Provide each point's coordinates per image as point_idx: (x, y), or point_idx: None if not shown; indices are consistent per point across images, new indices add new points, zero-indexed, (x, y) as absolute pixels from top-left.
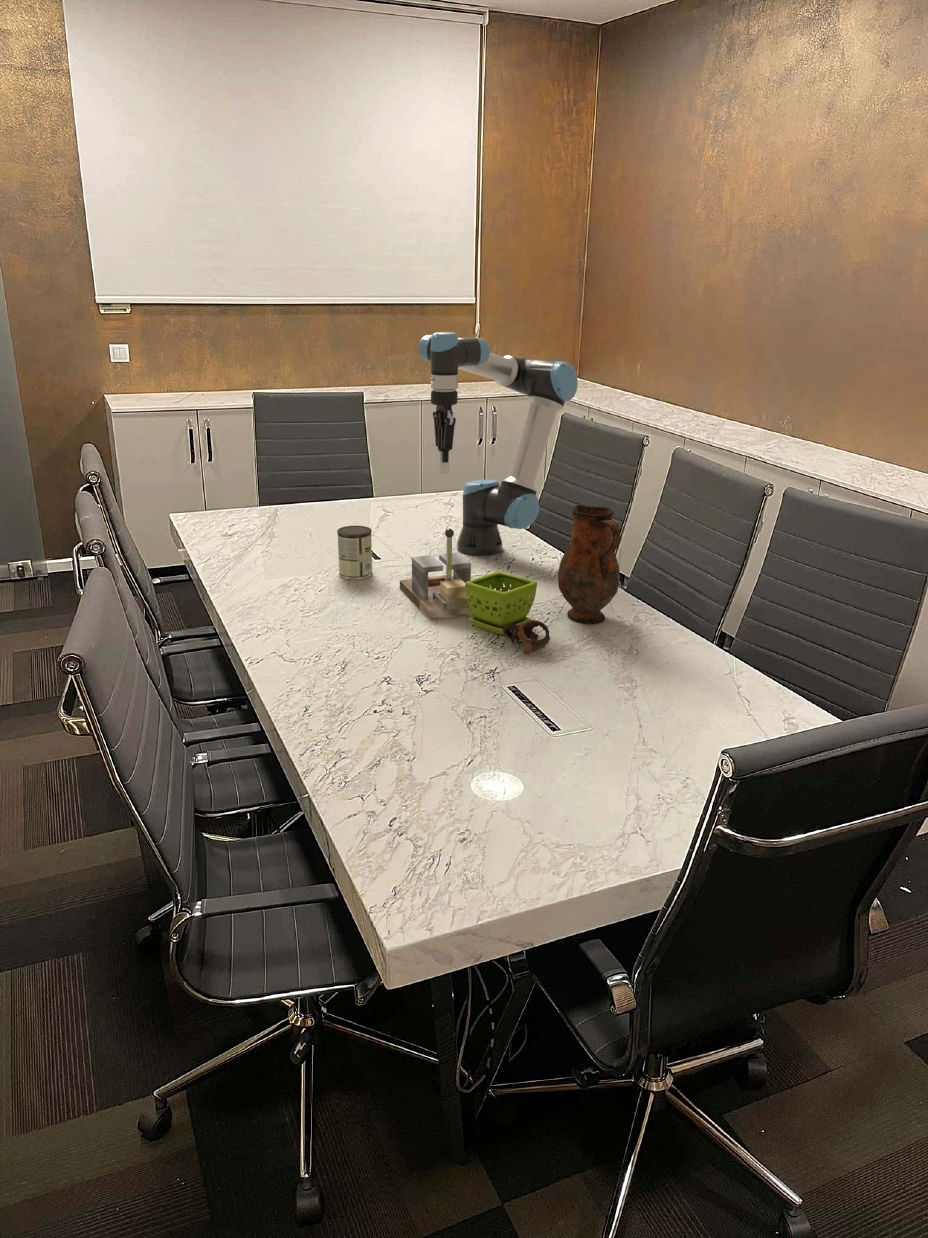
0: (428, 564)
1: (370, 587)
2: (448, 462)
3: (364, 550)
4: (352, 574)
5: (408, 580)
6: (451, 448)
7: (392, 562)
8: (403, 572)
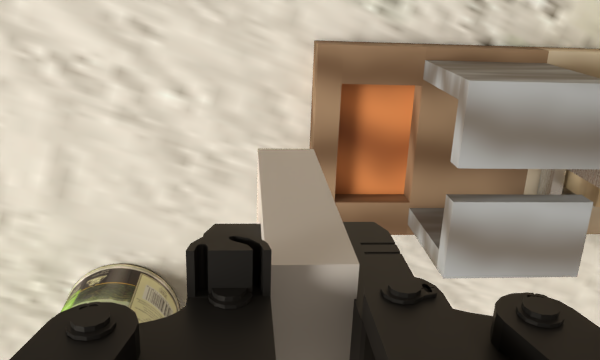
0: (555, 248)
1: None
2: (328, 195)
3: None
4: None
5: None
6: (569, 321)
7: (13, 166)
8: (145, 164)
